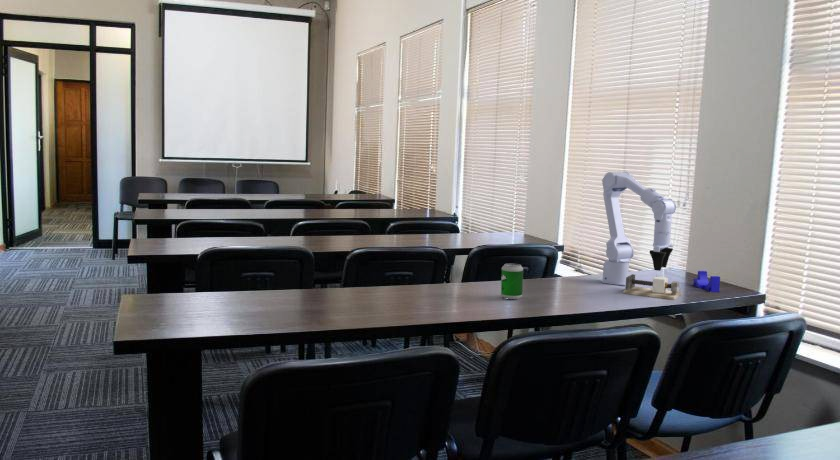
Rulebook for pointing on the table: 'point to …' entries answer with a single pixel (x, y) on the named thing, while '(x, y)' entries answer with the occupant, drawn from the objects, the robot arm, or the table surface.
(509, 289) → the soda can
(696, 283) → the blue stepped block
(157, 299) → the table surface
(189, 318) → the table surface
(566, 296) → the table surface
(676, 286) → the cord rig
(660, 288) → the cord end block
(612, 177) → the robot arm
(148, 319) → the table surface
